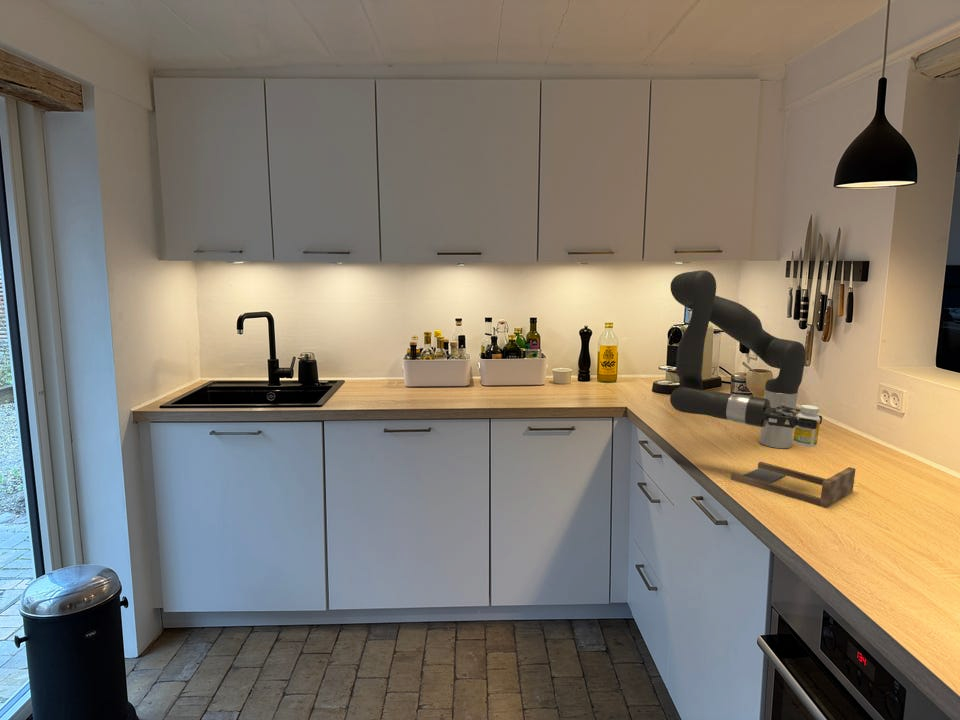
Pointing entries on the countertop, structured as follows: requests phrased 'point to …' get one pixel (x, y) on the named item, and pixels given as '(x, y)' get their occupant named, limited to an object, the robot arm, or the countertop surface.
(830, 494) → the bay
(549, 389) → the countertop surface
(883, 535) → the countertop surface
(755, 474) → the front mat
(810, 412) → the supplement bottle
